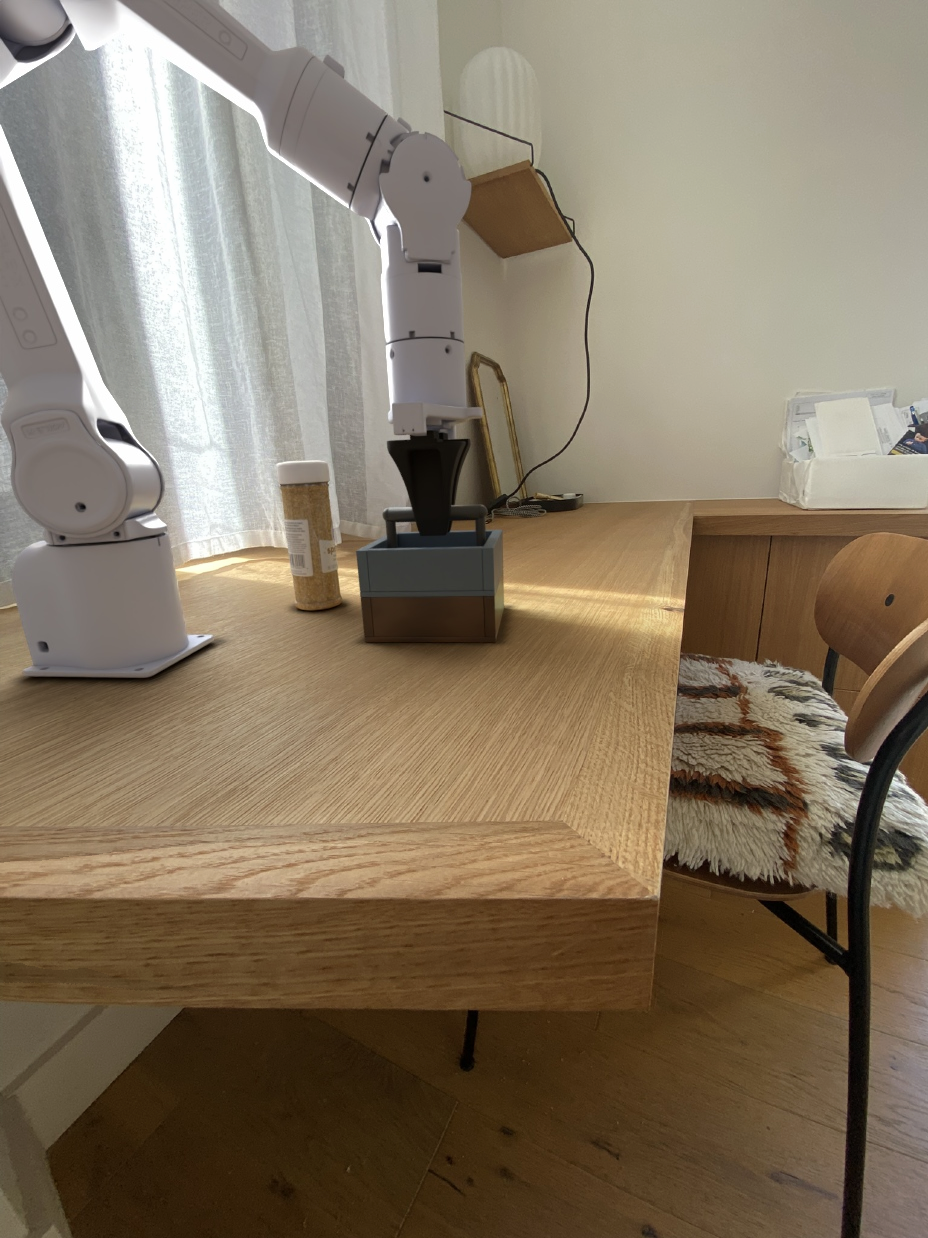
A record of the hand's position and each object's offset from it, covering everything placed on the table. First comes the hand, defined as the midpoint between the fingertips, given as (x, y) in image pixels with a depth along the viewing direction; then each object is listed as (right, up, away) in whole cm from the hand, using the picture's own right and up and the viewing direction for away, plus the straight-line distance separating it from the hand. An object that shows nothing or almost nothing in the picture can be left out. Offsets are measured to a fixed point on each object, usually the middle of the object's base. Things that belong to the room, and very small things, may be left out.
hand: (435, 533), depth 44 cm
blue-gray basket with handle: (0, -4, +1) cm, 4 cm away
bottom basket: (0, -7, +2) cm, 7 cm away
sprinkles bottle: (-12, -6, +10) cm, 16 cm away
